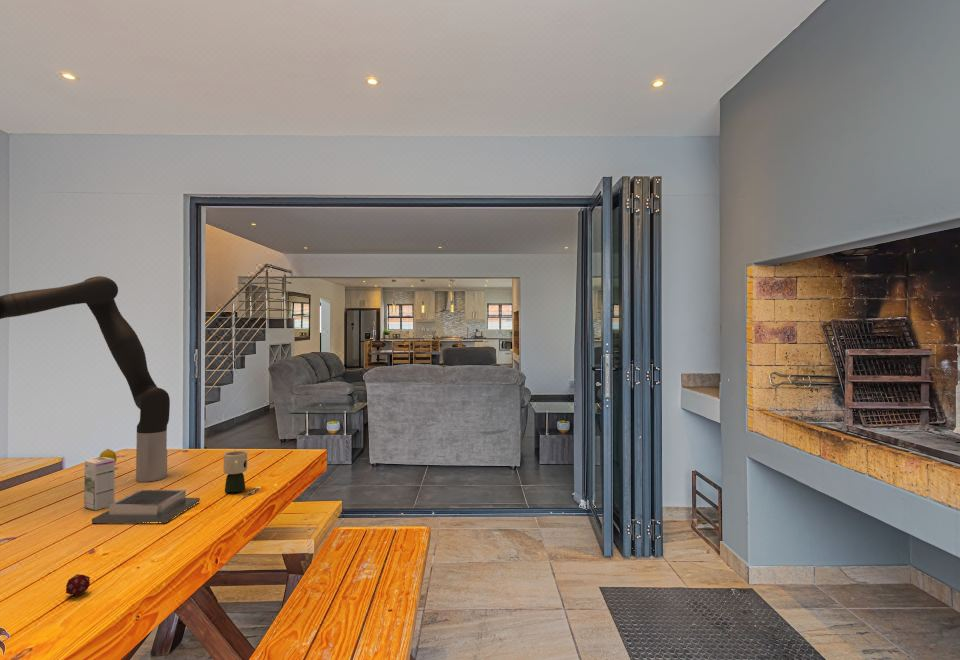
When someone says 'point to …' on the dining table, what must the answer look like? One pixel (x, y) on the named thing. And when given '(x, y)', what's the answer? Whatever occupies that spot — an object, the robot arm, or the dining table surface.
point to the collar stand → (147, 507)
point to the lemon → (108, 454)
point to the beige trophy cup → (235, 470)
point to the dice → (77, 584)
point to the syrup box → (99, 483)
